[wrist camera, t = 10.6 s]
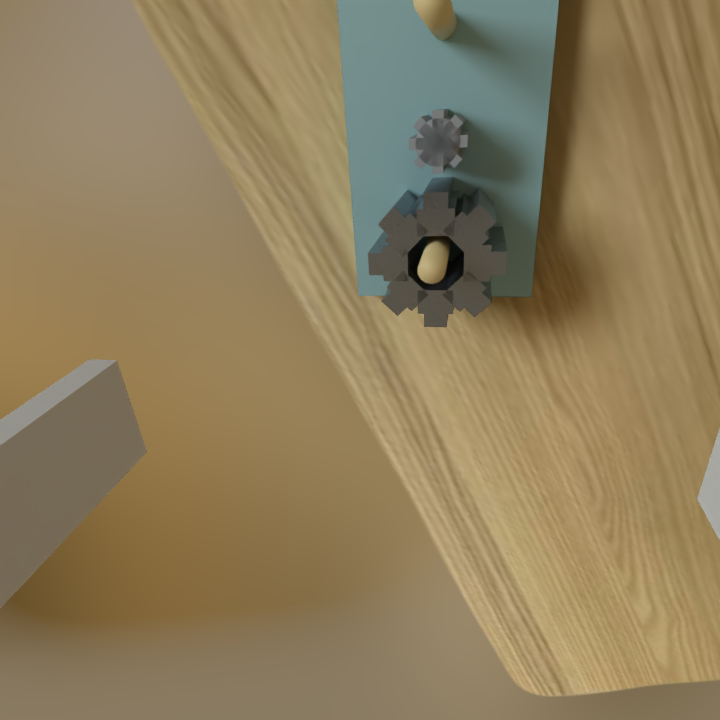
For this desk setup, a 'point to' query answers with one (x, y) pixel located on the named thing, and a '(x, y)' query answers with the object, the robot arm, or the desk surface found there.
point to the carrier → (448, 118)
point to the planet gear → (463, 274)
